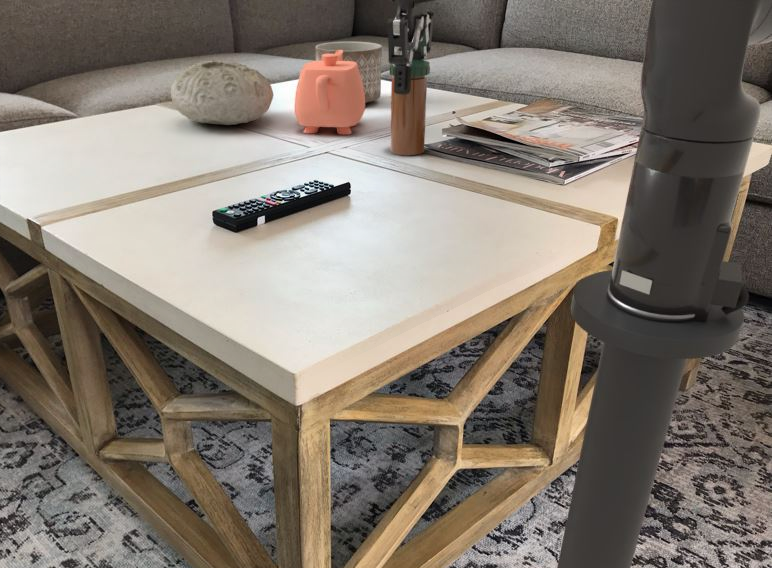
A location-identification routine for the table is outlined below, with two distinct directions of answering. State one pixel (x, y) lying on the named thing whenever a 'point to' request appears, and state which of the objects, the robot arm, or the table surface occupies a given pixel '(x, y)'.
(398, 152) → the jar
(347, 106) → the teapot
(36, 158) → the table surface
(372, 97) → the planter
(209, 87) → the grey rounded lump
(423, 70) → the lid
